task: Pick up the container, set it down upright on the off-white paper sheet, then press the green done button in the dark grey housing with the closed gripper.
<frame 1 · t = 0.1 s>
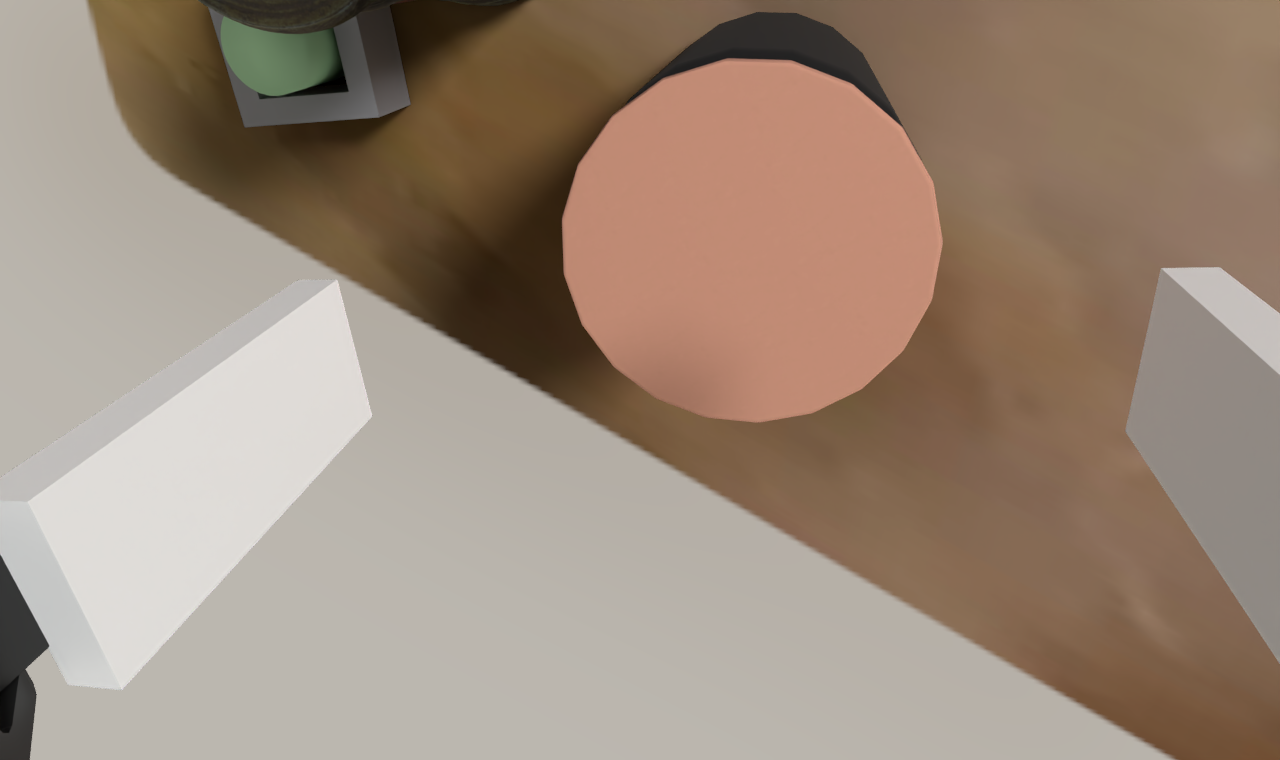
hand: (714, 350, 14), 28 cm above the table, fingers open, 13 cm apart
coffee jar: (767, 132, 39), on the table
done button: (292, 41, 37), point 3 cm above the table, slide at 0.0 cm
button housing: (328, 35, 40), on the table
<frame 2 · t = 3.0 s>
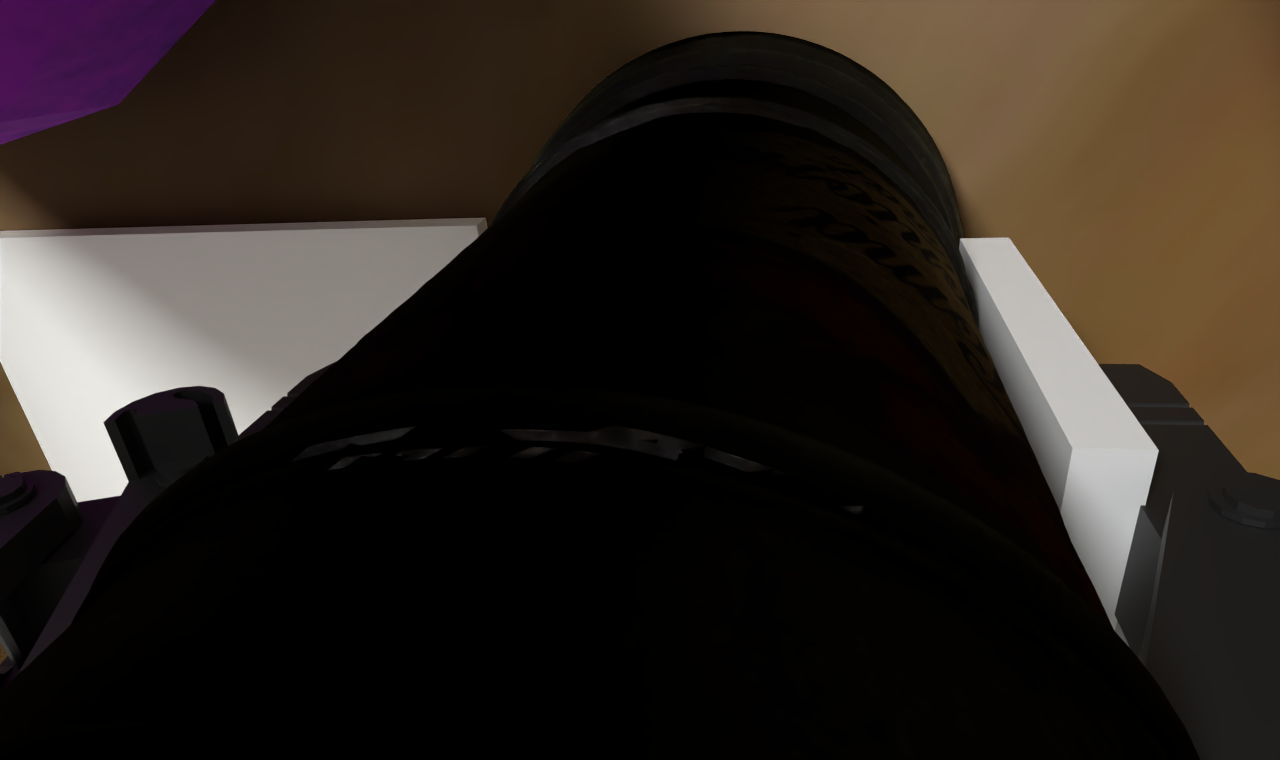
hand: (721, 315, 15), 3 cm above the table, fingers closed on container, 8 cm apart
paper sheet: (286, 471, 23), on the table
container: (737, 253, 18), on the table, touching gripper
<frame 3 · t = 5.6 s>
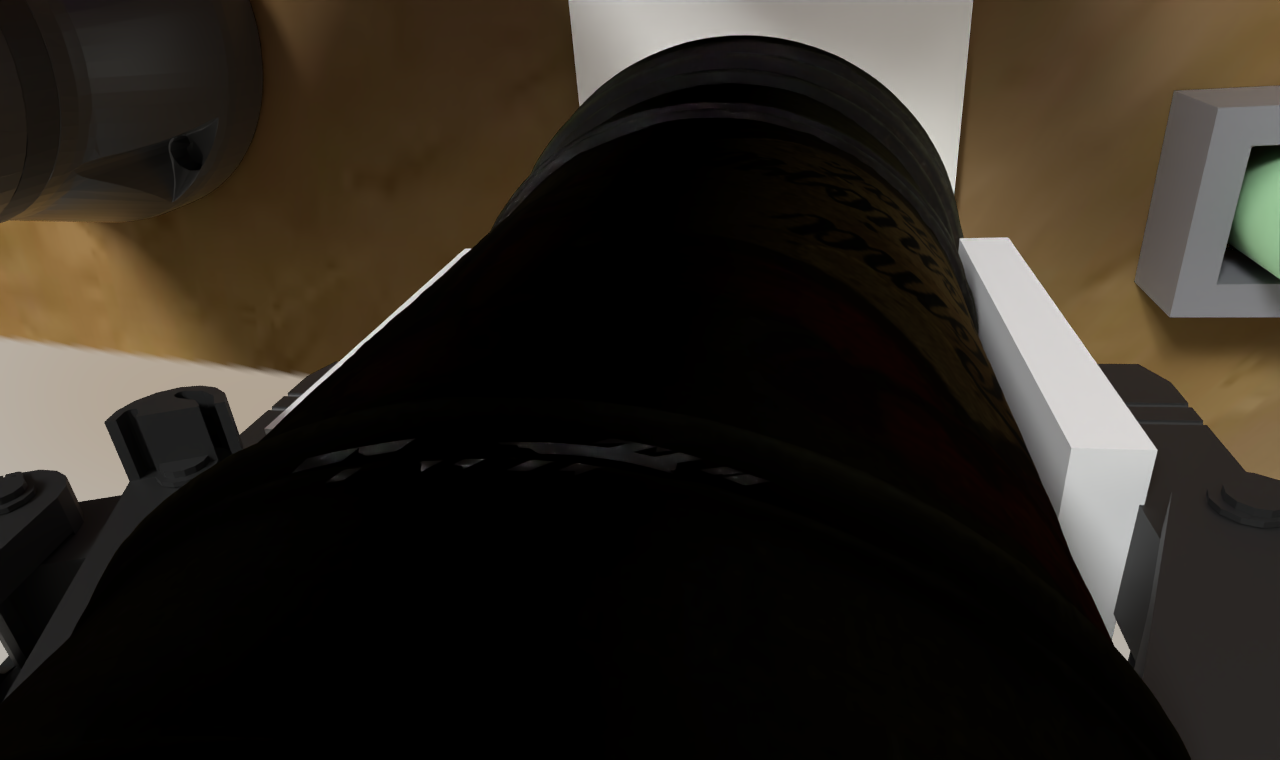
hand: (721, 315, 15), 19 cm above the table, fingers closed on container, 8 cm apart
paper sheet: (764, 123, 31), on the table
button housing: (1261, 188, 29), on the table
container: (738, 256, 18), point 15 cm above the table, touching gripper
when the fingers open (5 cm above the table, at t = 8.4 s): container drops 1 cm, resting on paper sheet.
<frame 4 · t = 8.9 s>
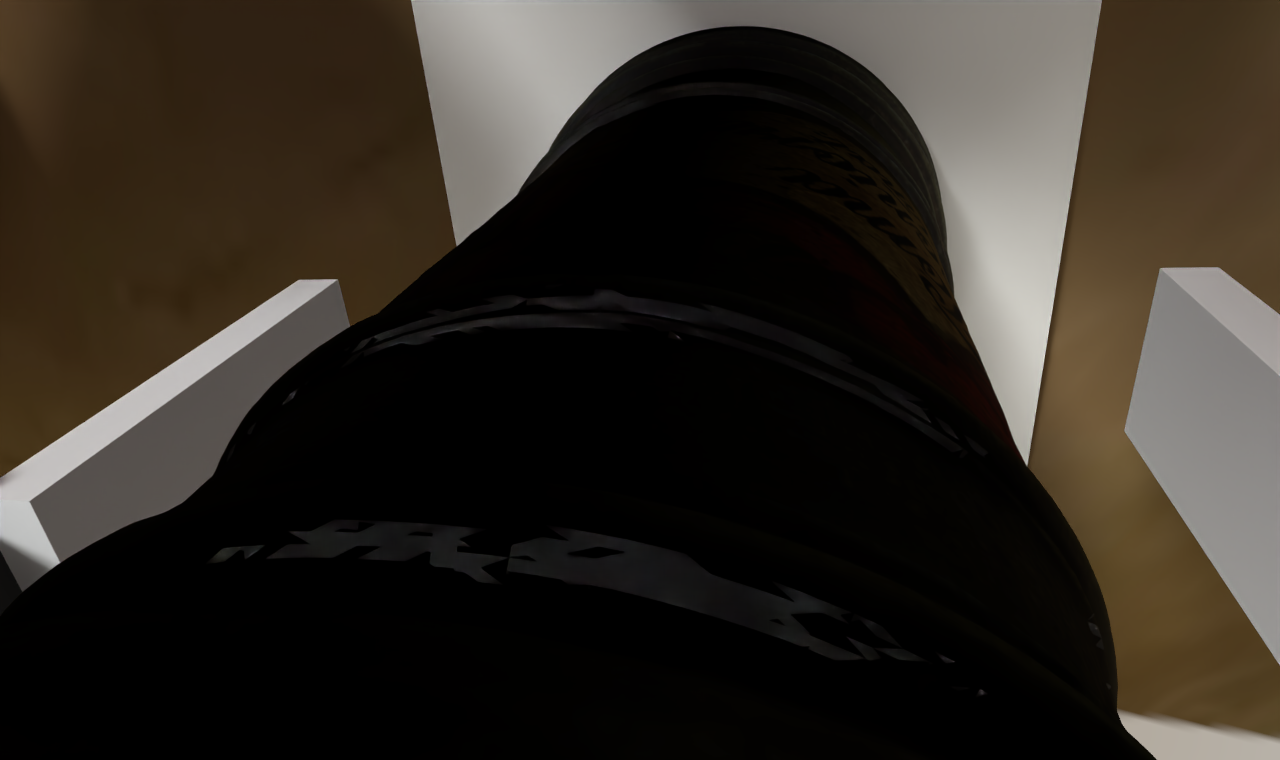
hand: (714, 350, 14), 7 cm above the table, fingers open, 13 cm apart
paper sheet: (741, 226, 20), on the table
container: (737, 232, 19), resting on paper sheet
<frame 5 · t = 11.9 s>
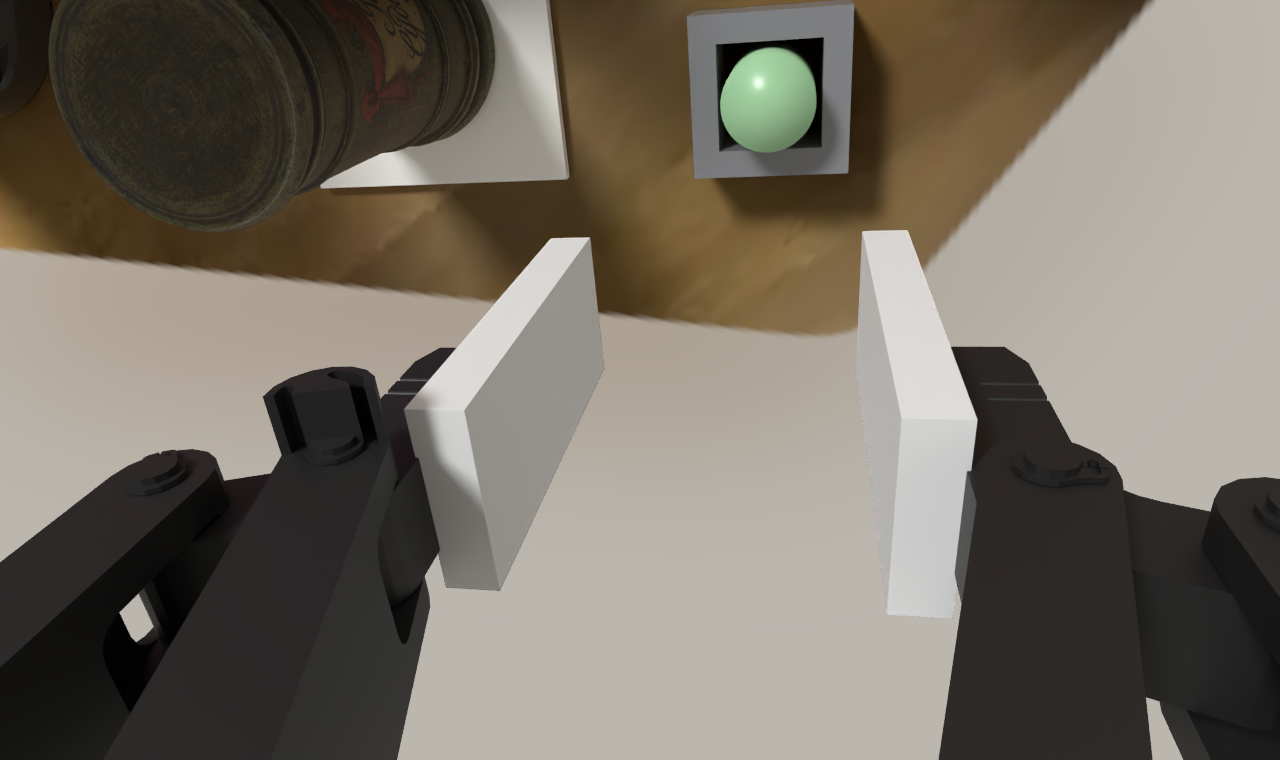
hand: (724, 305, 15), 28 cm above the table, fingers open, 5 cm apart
paper sheet: (418, 42, 41), on the table
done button: (769, 95, 37), point 3 cm above the table, slide at 0.0 cm
button housing: (772, 85, 40), on the table
container: (414, 43, 41), resting on paper sheet
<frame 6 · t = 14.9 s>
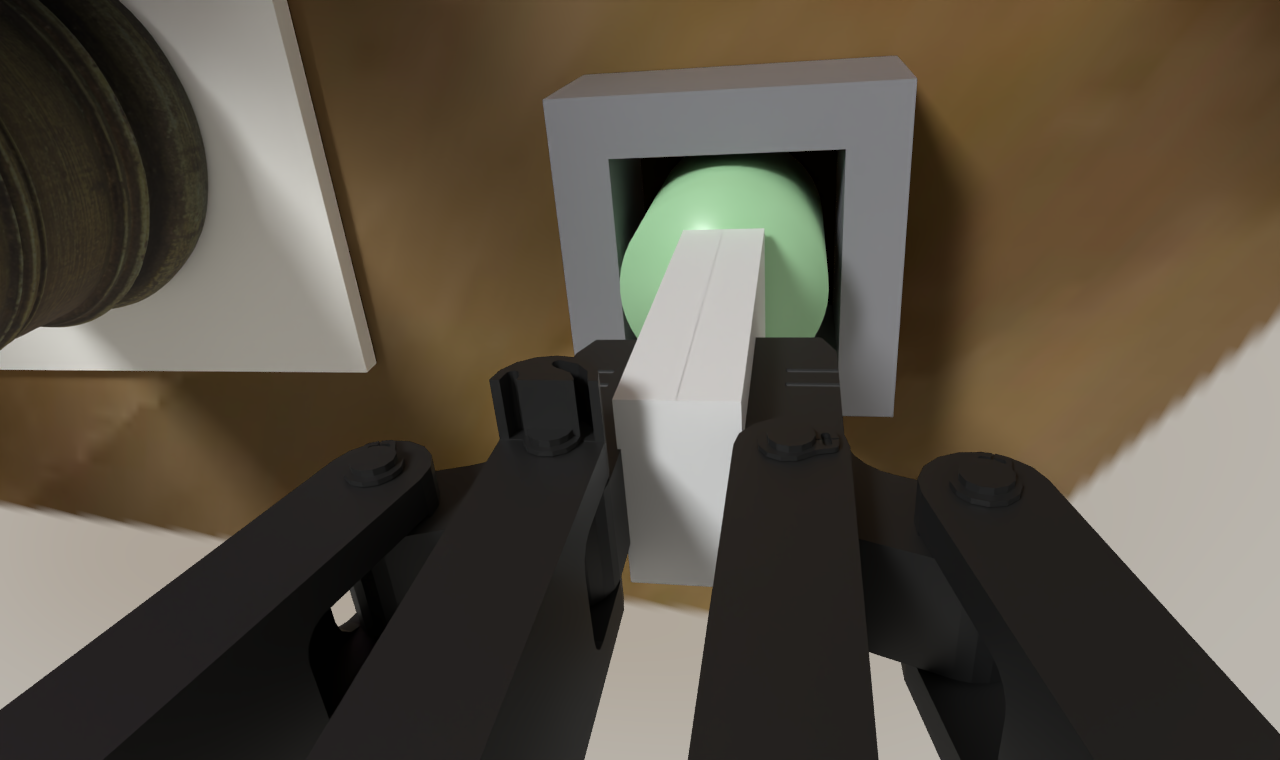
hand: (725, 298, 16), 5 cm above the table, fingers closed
paper sheet: (75, 126, 22), on the table
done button: (730, 253, 18), point 3 cm above the table, slide at -0.6 cm, touching gripper
button housing: (738, 217, 20), on the table
container: (62, 130, 22), resting on paper sheet
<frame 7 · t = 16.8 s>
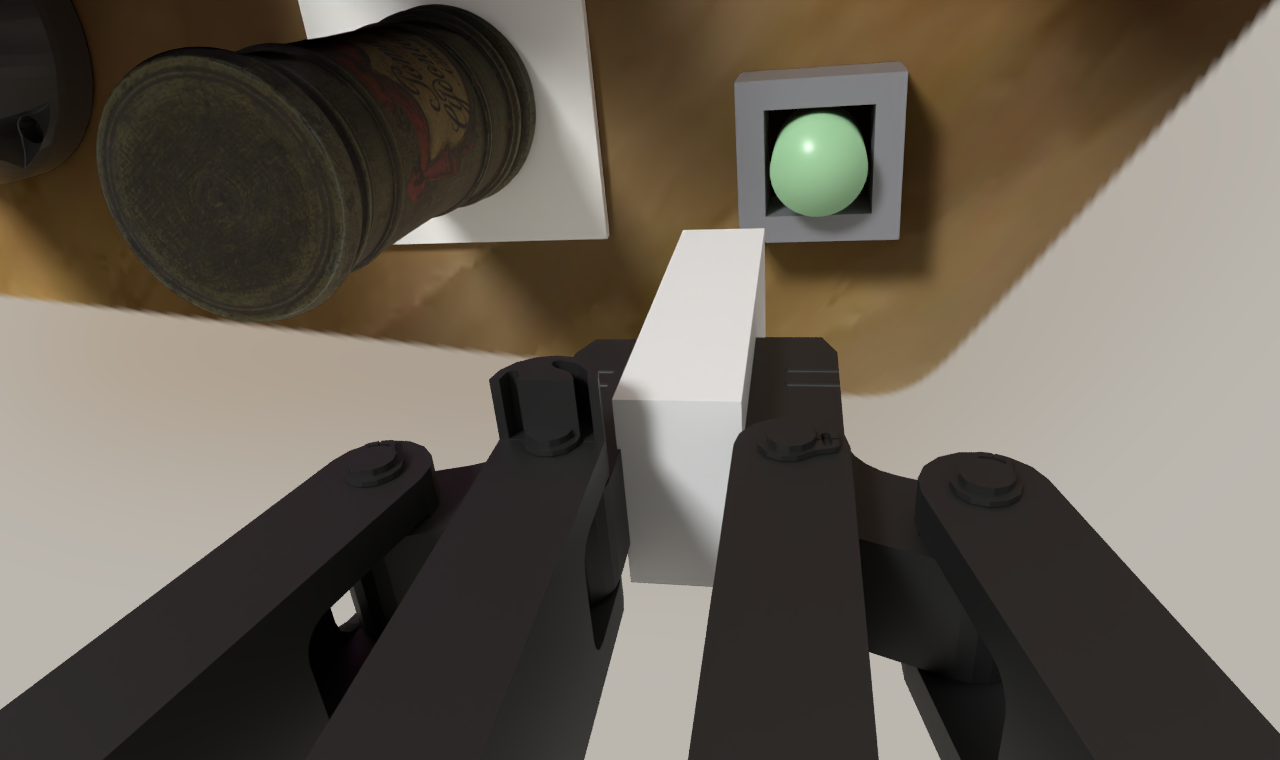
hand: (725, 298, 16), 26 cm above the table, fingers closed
paper sheet: (458, 102, 41), on the table
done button: (818, 158, 36), point 3 cm above the table, slide at -0.7 cm
button housing: (818, 146, 39), on the table
container: (454, 104, 41), resting on paper sheet
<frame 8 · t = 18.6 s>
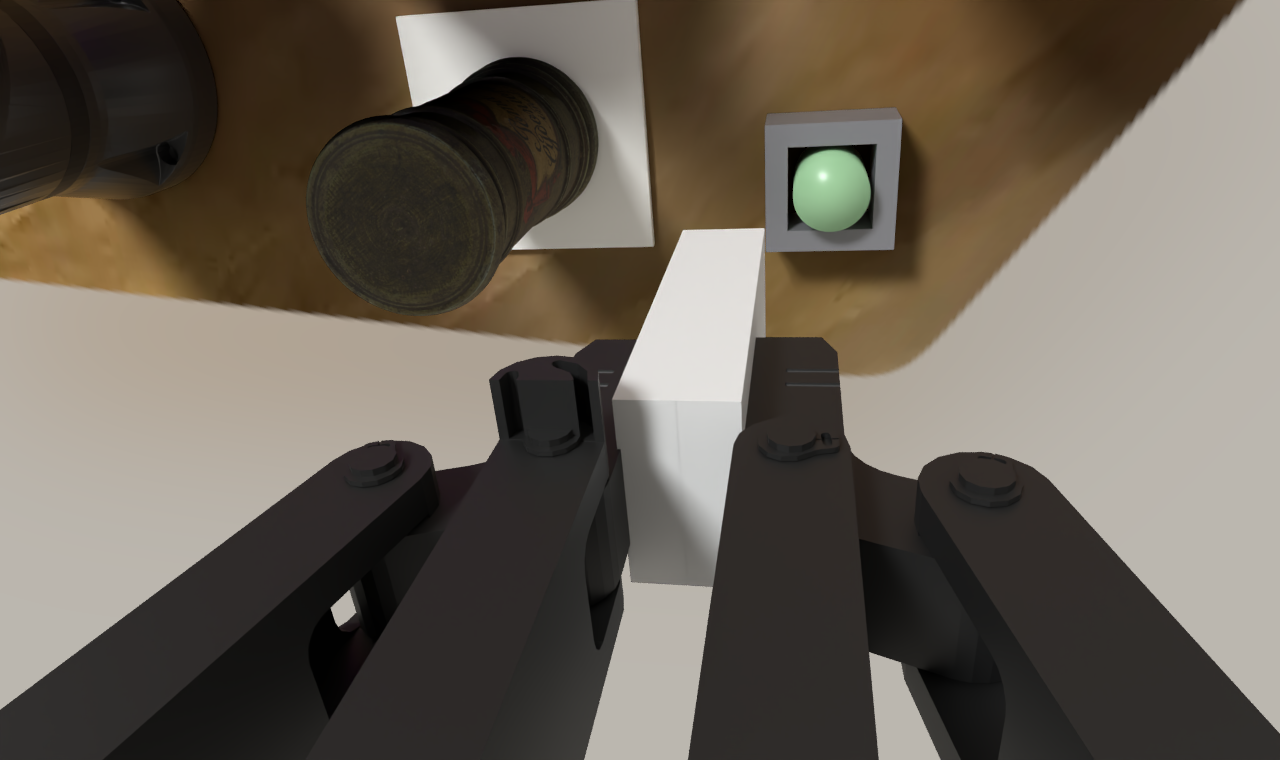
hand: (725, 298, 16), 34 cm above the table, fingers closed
paper sheet: (532, 134, 50), on the table
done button: (830, 184, 46), point 3 cm above the table, slide at -0.7 cm
button housing: (828, 173, 48), on the table
container: (529, 135, 49), resting on paper sheet
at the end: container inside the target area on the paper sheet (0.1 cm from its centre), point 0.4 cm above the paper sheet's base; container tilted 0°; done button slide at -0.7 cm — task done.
